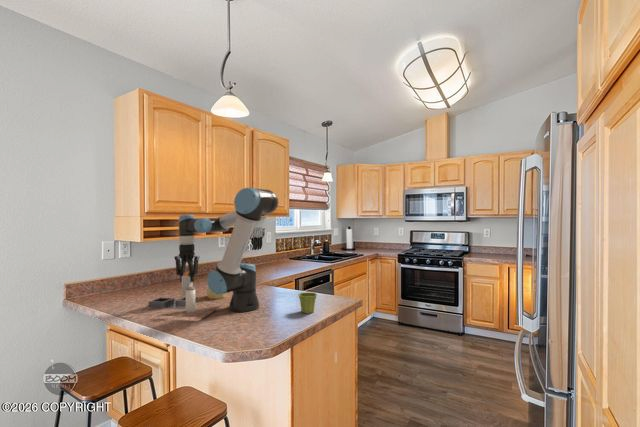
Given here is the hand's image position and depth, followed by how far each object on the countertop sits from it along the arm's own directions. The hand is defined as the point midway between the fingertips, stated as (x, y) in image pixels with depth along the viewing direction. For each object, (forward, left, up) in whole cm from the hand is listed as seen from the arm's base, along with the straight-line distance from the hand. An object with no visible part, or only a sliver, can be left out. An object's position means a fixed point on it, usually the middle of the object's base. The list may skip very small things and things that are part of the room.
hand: (187, 288), depth 169 cm
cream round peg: (-9, +12, -10) cm, 18 cm away
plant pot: (-65, 0, -10) cm, 66 cm away
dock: (+6, +3, -10) cm, 12 cm away
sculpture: (-9, -16, -10) cm, 21 cm away
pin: (0, 0, -4) cm, 4 cm away
